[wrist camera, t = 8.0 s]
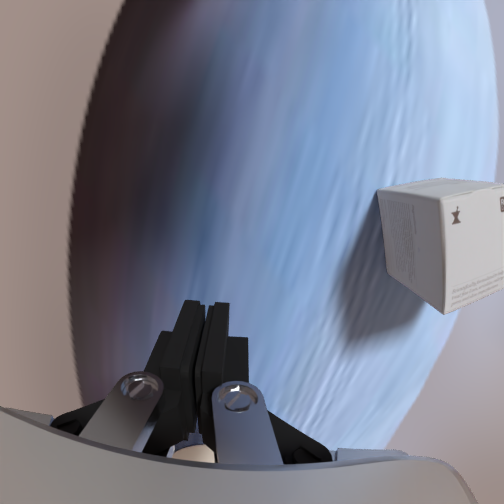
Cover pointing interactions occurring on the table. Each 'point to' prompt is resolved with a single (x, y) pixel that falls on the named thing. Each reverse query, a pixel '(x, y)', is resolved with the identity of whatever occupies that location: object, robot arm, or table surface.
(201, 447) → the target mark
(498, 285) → the skincare box
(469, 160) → the table surface
